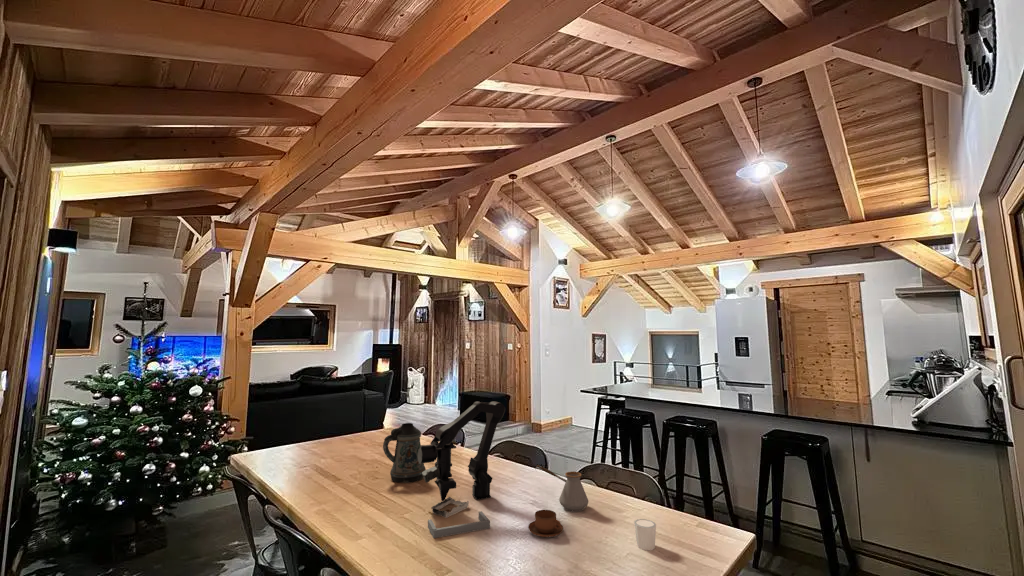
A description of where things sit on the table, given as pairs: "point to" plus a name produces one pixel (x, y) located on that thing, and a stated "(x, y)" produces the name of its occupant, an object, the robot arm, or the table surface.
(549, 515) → the cup and saucer
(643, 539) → the shot glass
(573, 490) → the grey coffee pot
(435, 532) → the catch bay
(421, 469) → the beer stein
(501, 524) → the table surface
